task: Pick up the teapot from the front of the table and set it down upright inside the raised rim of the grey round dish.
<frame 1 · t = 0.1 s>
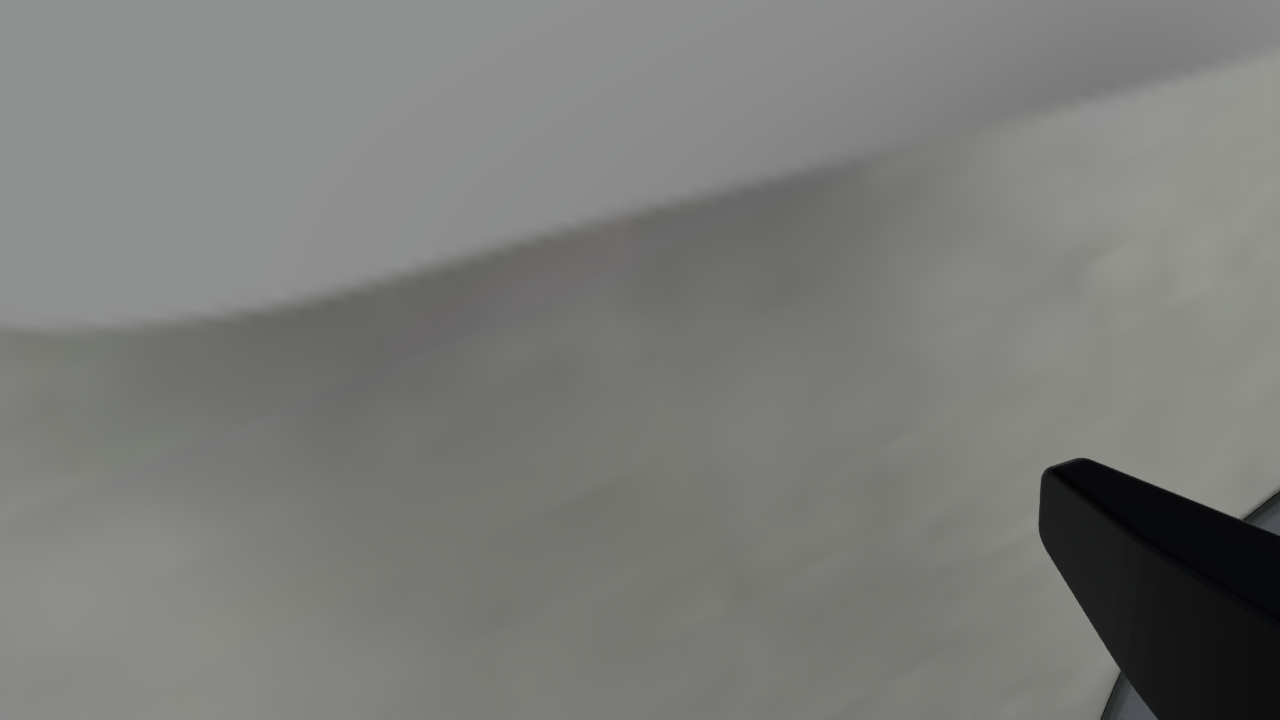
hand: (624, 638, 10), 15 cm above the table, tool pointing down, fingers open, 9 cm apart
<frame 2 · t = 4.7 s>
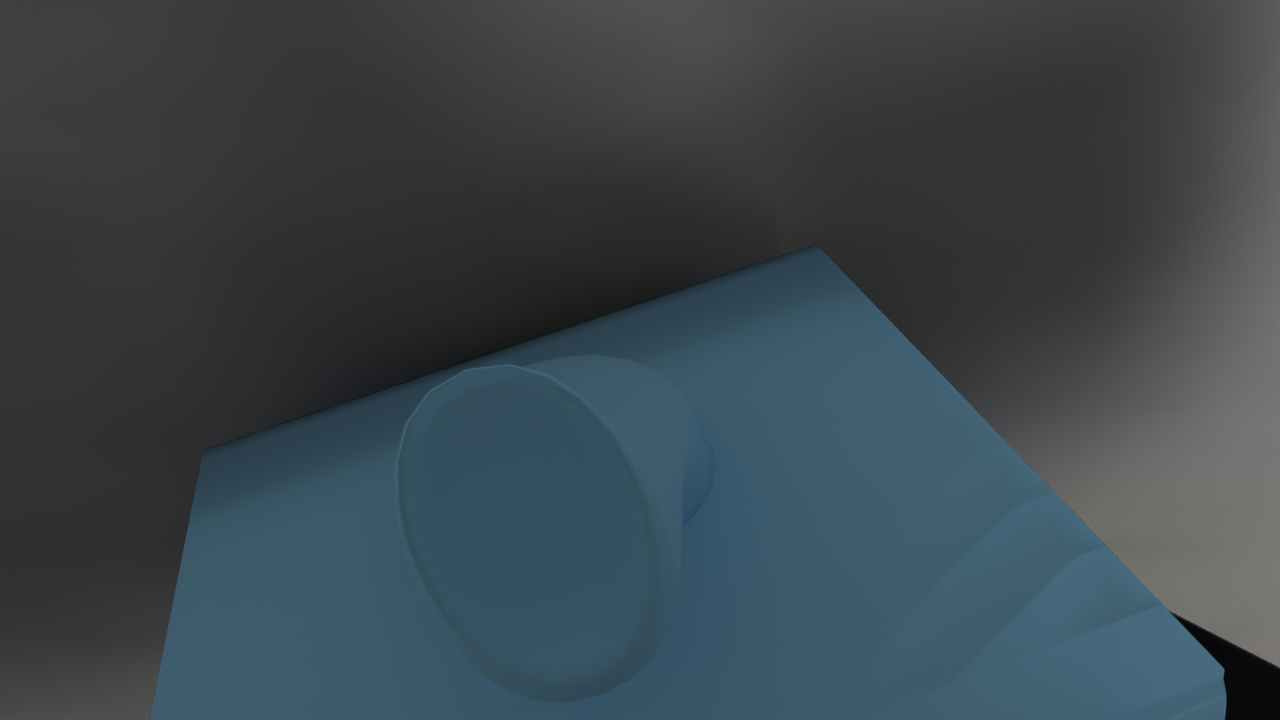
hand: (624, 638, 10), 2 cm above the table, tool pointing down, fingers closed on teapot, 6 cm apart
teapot: (568, 475, 12), on the table, touching gripper
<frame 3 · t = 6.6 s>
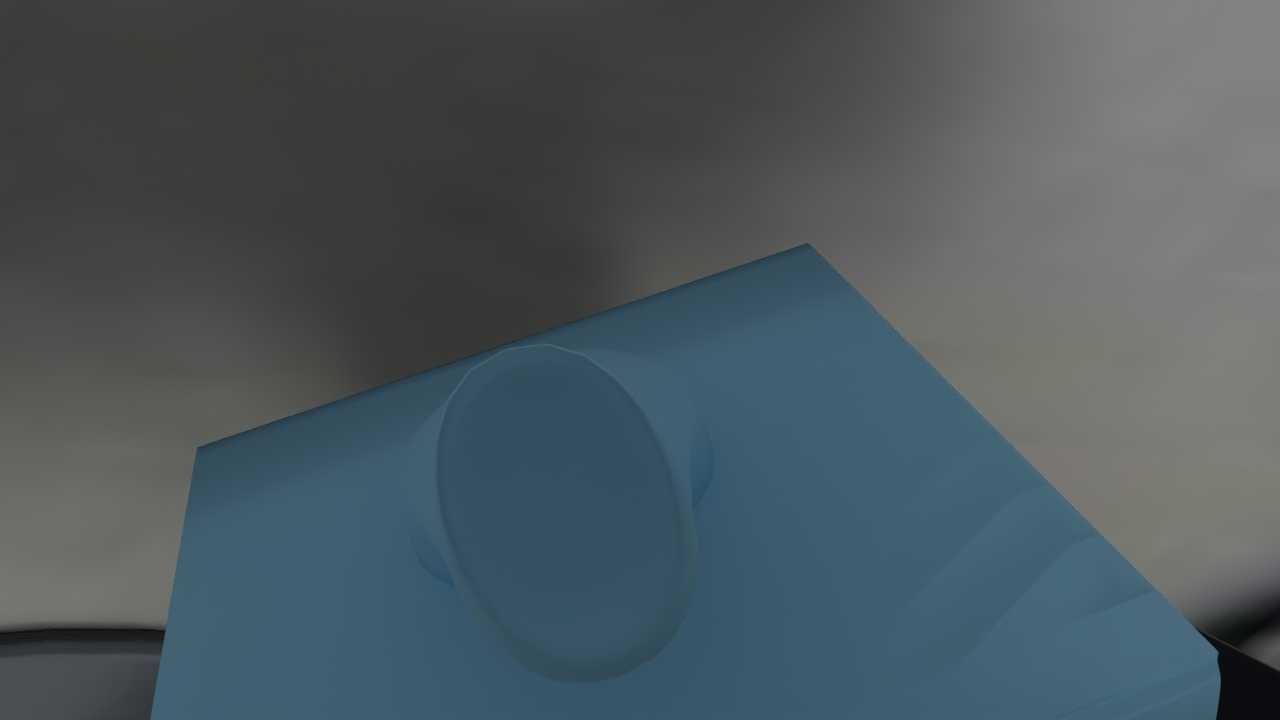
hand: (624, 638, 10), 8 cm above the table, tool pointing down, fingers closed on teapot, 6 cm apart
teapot: (559, 474, 12), point 6 cm above the table, touching gripper
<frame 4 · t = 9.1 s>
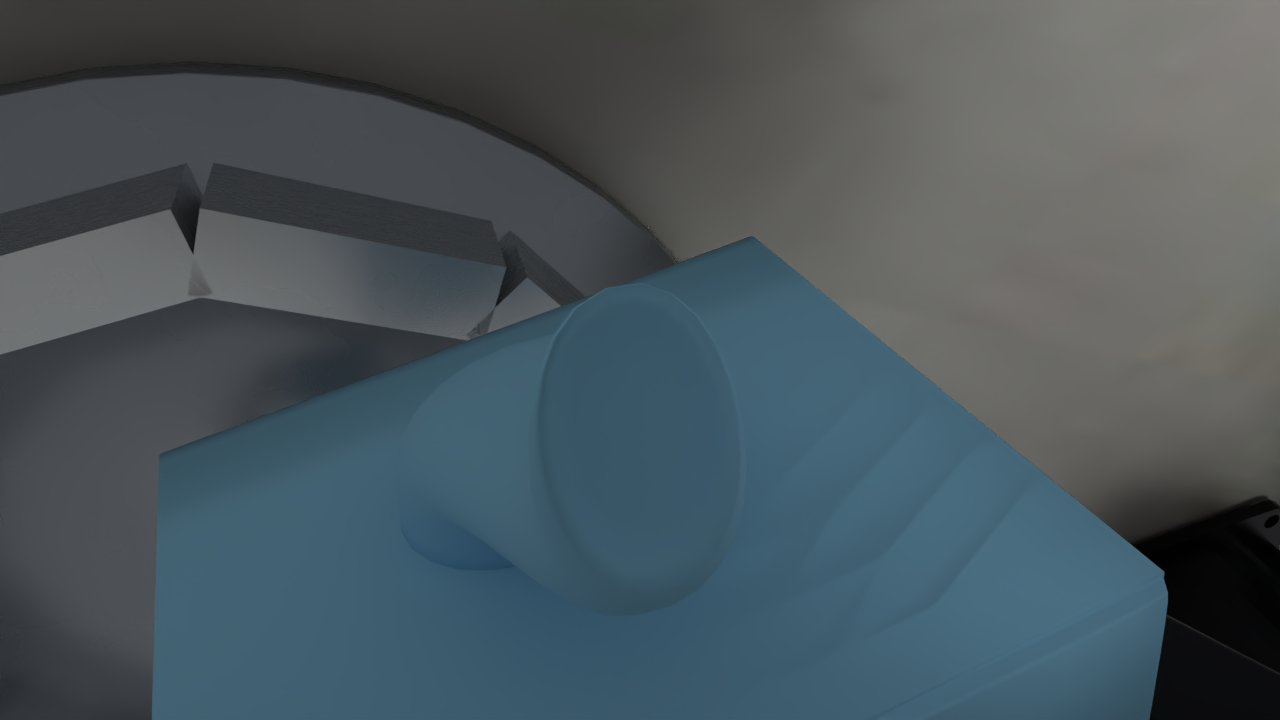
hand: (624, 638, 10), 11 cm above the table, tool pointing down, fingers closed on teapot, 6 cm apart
grey round dish: (275, 577, 22), on the table
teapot: (512, 471, 12), point 8 cm above the table, touching gripper
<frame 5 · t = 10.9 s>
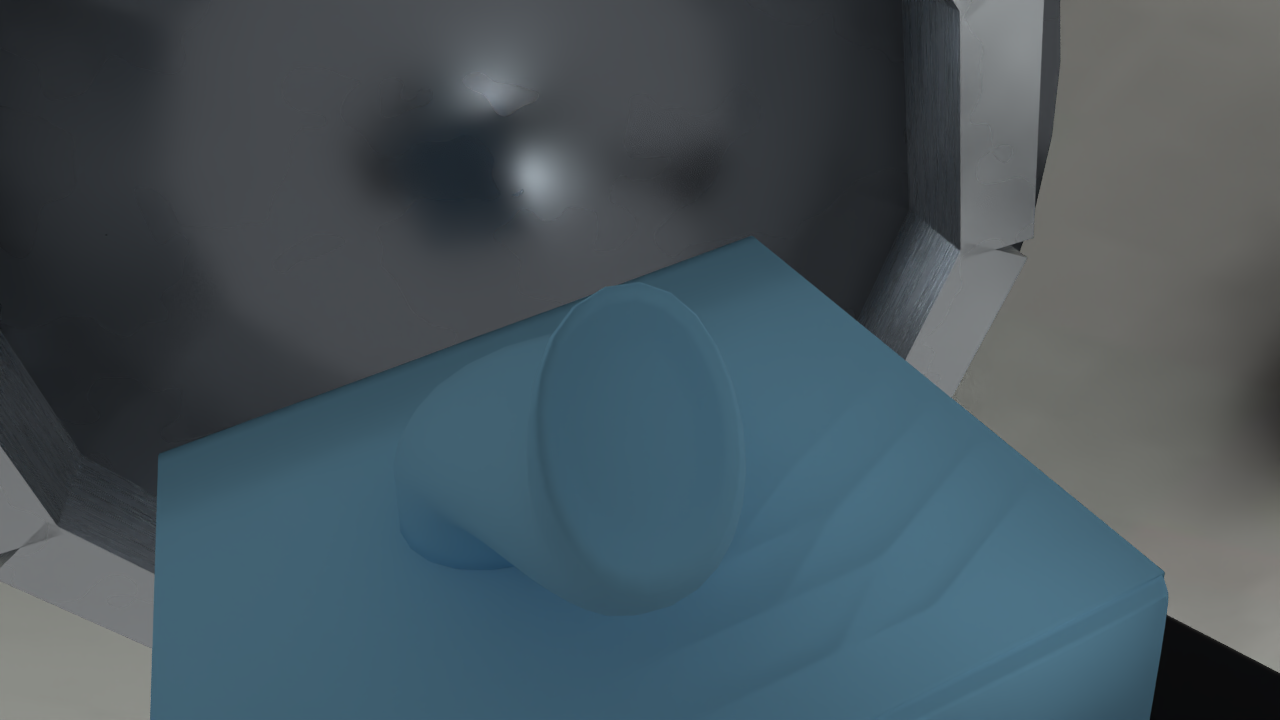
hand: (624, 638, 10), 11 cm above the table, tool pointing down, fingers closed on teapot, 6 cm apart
grey round dish: (479, 208, 19), on the table
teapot: (512, 471, 12), point 8 cm above the table, touching gripper
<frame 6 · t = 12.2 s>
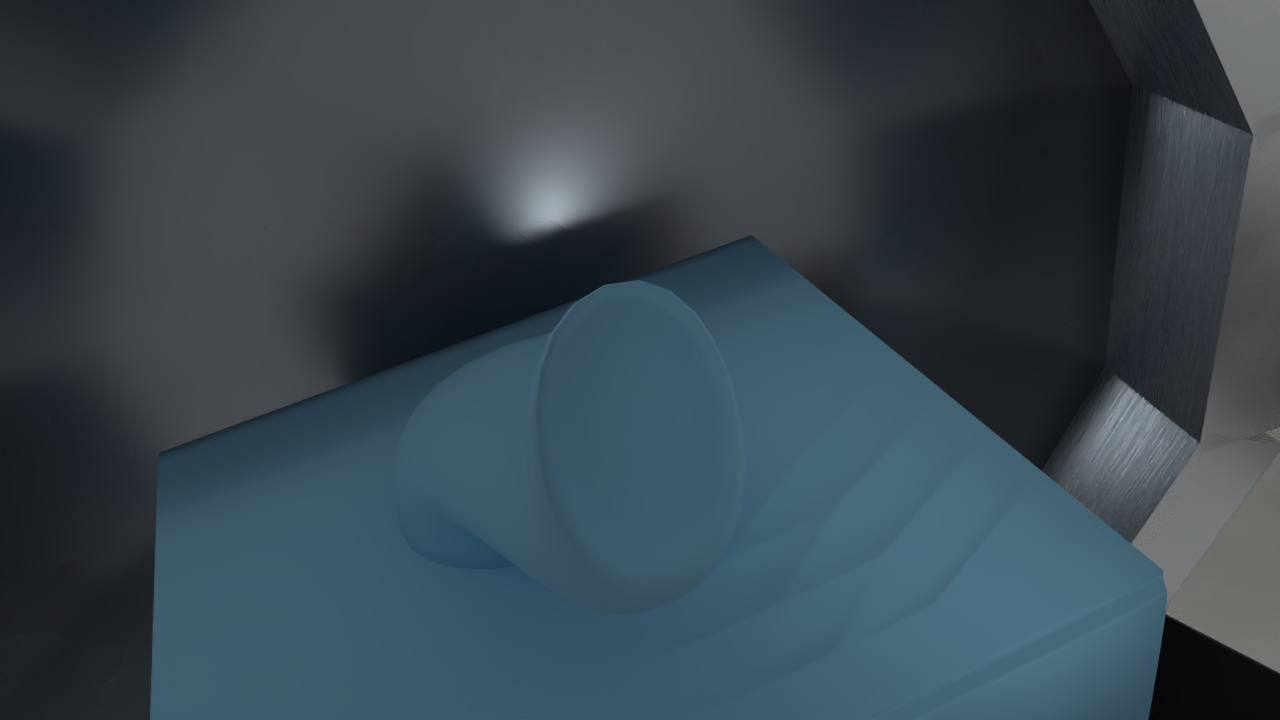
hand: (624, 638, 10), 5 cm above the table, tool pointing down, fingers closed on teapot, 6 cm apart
grey round dish: (534, 382, 13), on the table
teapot: (511, 470, 12), point 2 cm above the table, touching gripper
when the fingers open (5 cm above the table, at t = 12.8 s): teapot drops 1 cm, resting on grey round dish.
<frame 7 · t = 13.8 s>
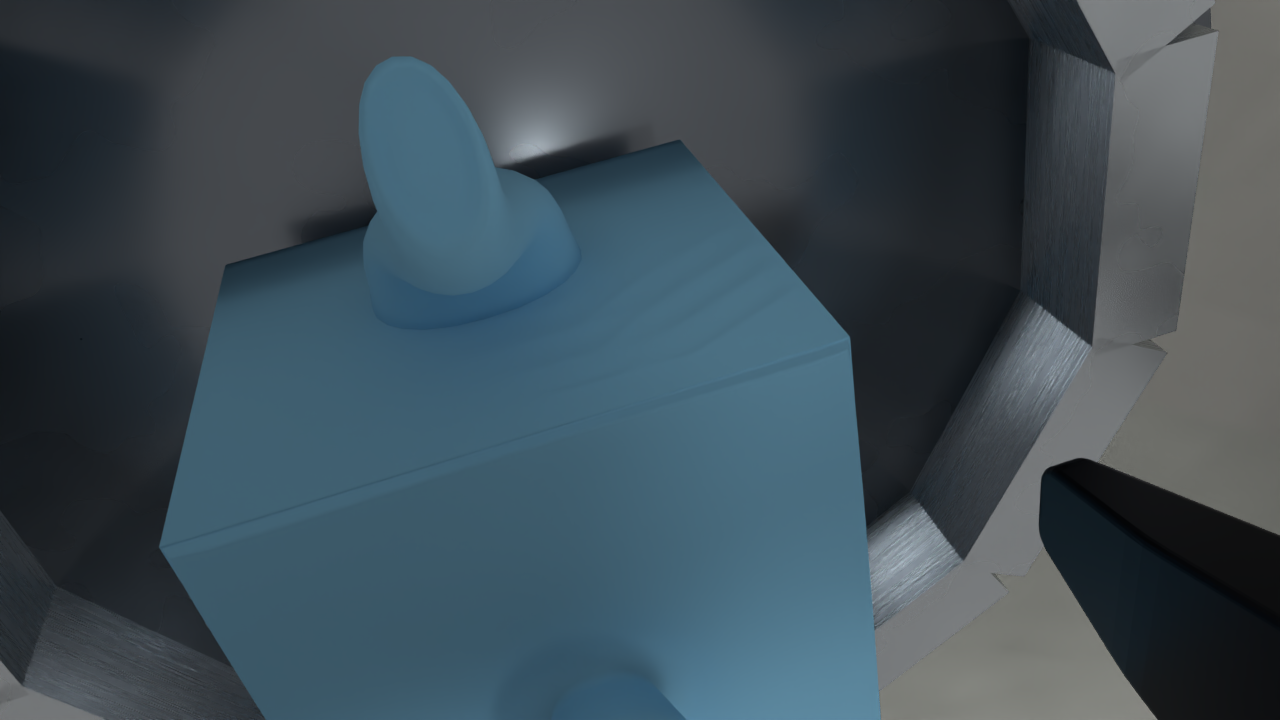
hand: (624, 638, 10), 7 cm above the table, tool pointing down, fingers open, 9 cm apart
grey round dish: (524, 294, 16), on the table
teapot: (499, 326, 15), point 1 cm above the table, touching grey round dish
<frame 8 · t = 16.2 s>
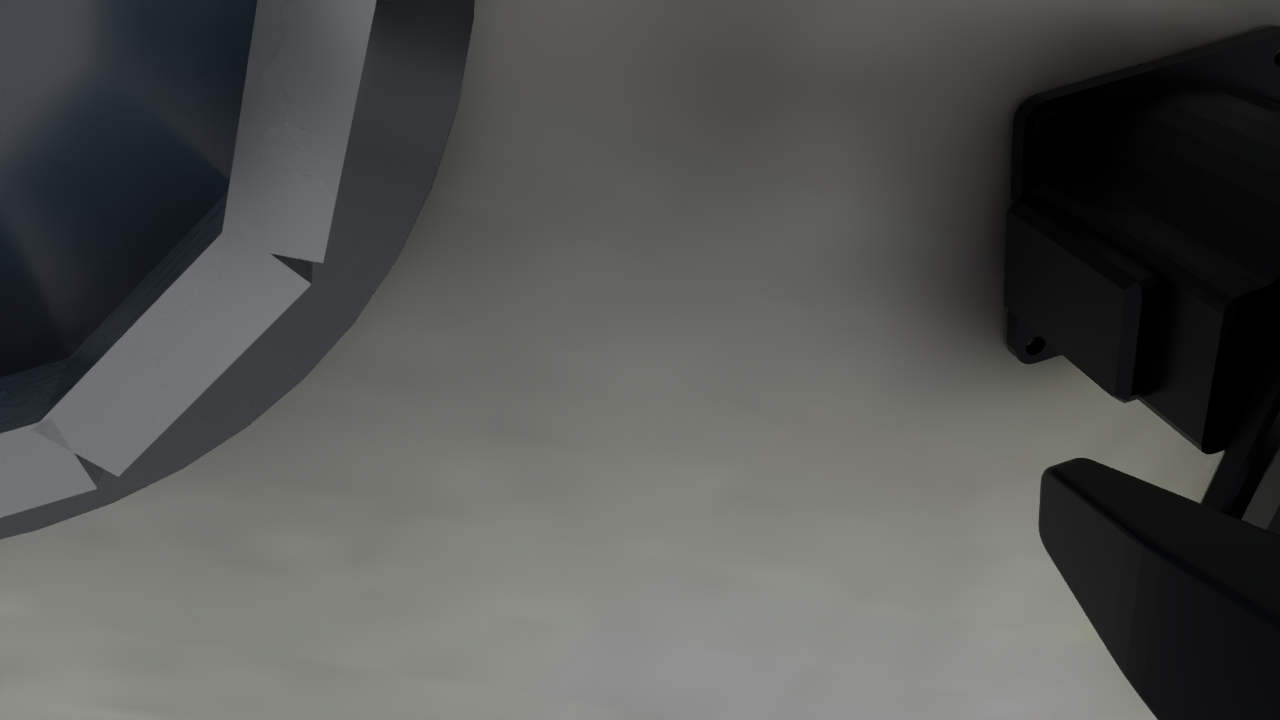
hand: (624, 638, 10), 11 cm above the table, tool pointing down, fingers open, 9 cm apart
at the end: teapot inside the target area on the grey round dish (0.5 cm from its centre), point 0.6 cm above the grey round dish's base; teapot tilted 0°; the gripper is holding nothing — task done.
